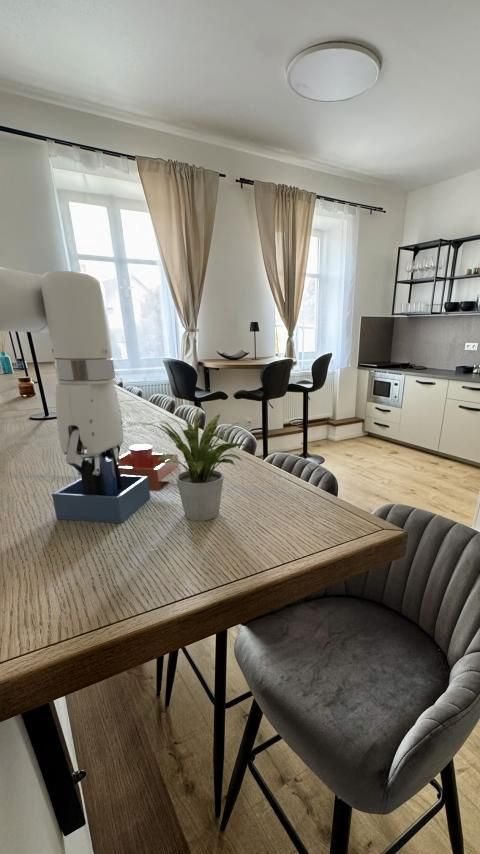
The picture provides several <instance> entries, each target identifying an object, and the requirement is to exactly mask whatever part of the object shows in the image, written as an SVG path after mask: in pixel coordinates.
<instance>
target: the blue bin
mask: <svg viewBox="0 0 480 854" xmlns="http://www.w3.org/2000/svg"><path fill="white" fill-rule="evenodd" d="M120 477H121V484H122V487H121V488H120V489H118V496H116V497H115V496H99V495H84V489H83V484H82V478H81V477H79V479H76V480H75V481H73V482H71V483H69V484H67V485H66V486H63V487H62V488H59V489H58V490H57V491H54V492H53V493H51V498H52V502H53V508H54V513H55V517H56V520H67V521H83V522H97V523H110V524H123V523H124V522H125V521H127V519H128V518H130V517H131V516H132V515H133V514H134V513H135V512H136V511H138V510H139V509H140V508H141V507H142V506H144V504H146V503H147V502H148V501H150V499H151V495H150V494H151V493H150V490H149V482H148V476H133V475H120Z"/></svg>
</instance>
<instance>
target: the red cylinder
mask: <svg viewBox="0 0 480 854" xmlns="http://www.w3.org/2000/svg"><path fill="white" fill-rule="evenodd" d="M129 452H130V457H131V464H130V465H131V467H138V468H155V465H154V460H153V453H154V451H153V445H150V444H134V445H131V446H129Z"/></svg>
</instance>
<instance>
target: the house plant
mask: <svg viewBox="0 0 480 854" xmlns="http://www.w3.org/2000/svg"><path fill="white" fill-rule="evenodd" d="M199 410H200V406H199V407H198V408H197V409H196V411H195V413H194V419H193V425H192V423H191V422H190V421H189V420H188V419H187V418H185V424H186V425H187V429H183V426H182V425H181V424H180V423H179V422H178V421H177V420H175V419H174V418H171V417H166V418H167V419H170V420H172V421H174V422H176V423H177V424H178V426H179V428H180V429H181V430H180V432H182V433H183V435H184V437H185V439H186V441H187V444H186V443H184V442H183V440H182V438H181V436H180V435H179V434H178V433H177V431H176V430H175V429H173V428H172V426H171V425H170V424H169V423H168V422H165V421H164V420H161V422H162V423H164V424H165V425H162V424H161V423H159V425H160V426H161V427H159V426H157V425H155V424H151V423H146V425H148V426H152V427H156V428H158V429H160V430H161V431H163V432H164V433H165V434H166V435H168V437H169V438H170V440H172V441H173V442H174V444H175V445H174V446H175V447H176V448H177V449H178V450H179V452H181V453H182V454H183V457H184V460H185V461H183V462H181V461H180V460H179V459H178V460H177V459H176V458H175V457H173V456H170V455H165V454H166V453H163V454H164V455H161V456H160V457H159V458H158V460H165V459H173V460H177V461H178V462H177V461H165V462H163V463H162V464H164V463H172V462H174V463H178V465H182V467H183V468H184V470H185V471H182V472H179V473H178V474H177V475H176V476H175V480H176V485H177V488H178V489H177V490H178V493H179V497H180V500H181V504H182V508H183V512H184V516H185V517H186V519H188V520H191V521H196V522H203V521H209V520H213V519H216V518H217V517H218V516H219V514H220V508H221V507H220V506H221V500H222V493H223V492H222V491H223V484H224V478H225V477H224V473H222V472H221V471H219V470H215V469H216V468H217V467H218V466H220V464H221V463H222V464H223V463H224V464H230V465H234V466H236V463H234V461H233V460H232V459H229V458H234V459H237V460H239V461H240V462H242V459H241V457H240V456H239V455H237V454H233V453H226V454H224V453H225V452H226V451H228V450H231V449H234V448H236V447H239V446H241V447H243V446H244V447H245V446H247V444H245V443H238V442H230V443H229V442H227V443H226V442H223V443H218V444H217V442H218V441H219V440H220V439H221V438H225V436H224V435H225V434H226V433H227V432H230V429H231V428H233V427H234V426H236V425H238V424H241V423H242V421H240V422H237V423H233V424H232V425H230V426H229V427H227V428H226V429H225V430H223V431H220V432H216V430H217V429H218V421H219V420H220V417H221V413H218V414H217V415H216V416H214V417H213V418H212V420H210V421H209V422H208V424H207V425H206V427H205V428H204V430H203V432H202V435H201V437H200V441H199V431H200V430H199V429H200V427H199V426H200V425H199ZM168 427H169V428H168ZM219 434H220V435H219ZM216 435H218V436H216ZM215 436H216V437H215ZM214 437H215V438H214ZM188 446H189V447H188ZM228 457H229V458H228ZM158 460H157V461H158ZM184 463H186V465H187V466H186V465H185V464H184Z"/></svg>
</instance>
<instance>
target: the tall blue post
mask: <svg viewBox="0 0 480 854" xmlns="http://www.w3.org/2000/svg"><path fill="white" fill-rule="evenodd" d="M85 460H86V461H88V462H89V463H91V464H92V458H86V459H85ZM99 461H100V474H103V477H104V484H105V490H106V496H115V497H116V496H118V488H117V481H116V473H115V466H114V459H113V458H112V457H106V456H101V457H99Z"/></svg>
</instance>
